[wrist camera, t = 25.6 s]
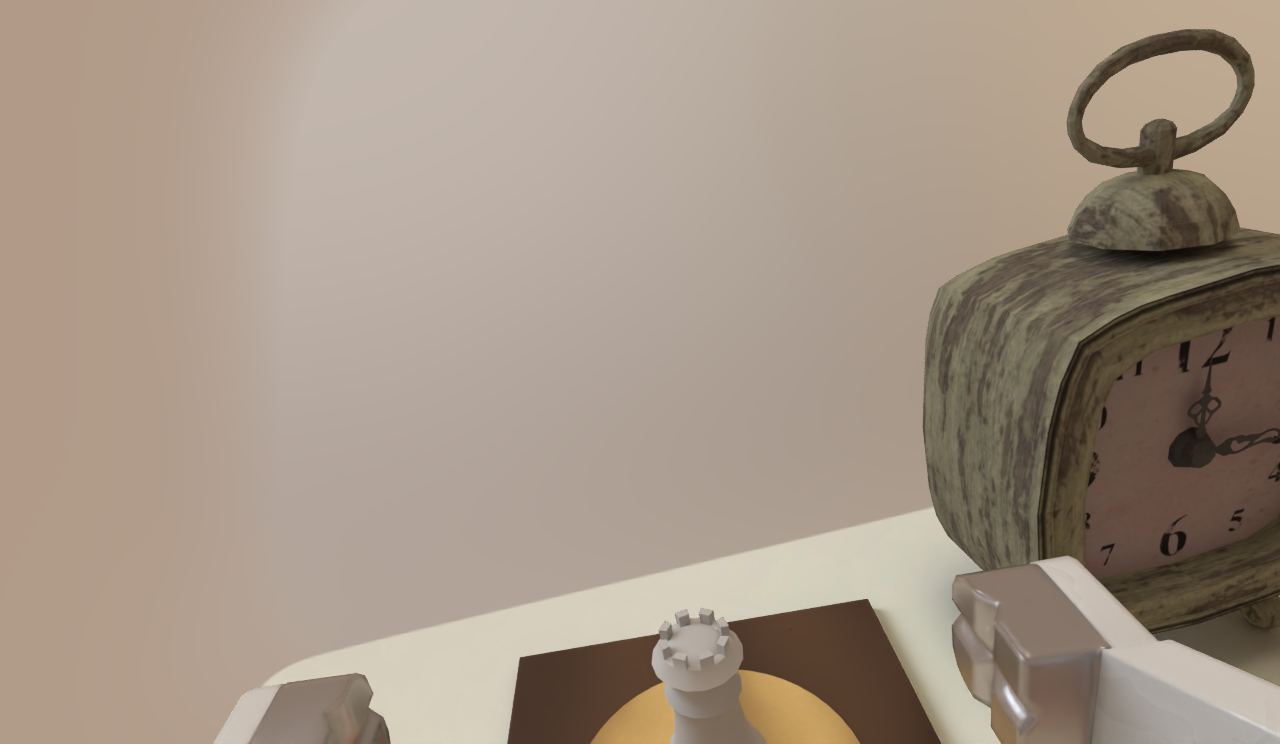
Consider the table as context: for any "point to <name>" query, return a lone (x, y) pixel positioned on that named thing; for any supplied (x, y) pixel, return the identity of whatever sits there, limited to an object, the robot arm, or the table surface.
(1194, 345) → the tabletop clock
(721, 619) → the rook chess piece
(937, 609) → the table surface
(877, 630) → the brown flat square panel
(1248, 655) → the table surface
